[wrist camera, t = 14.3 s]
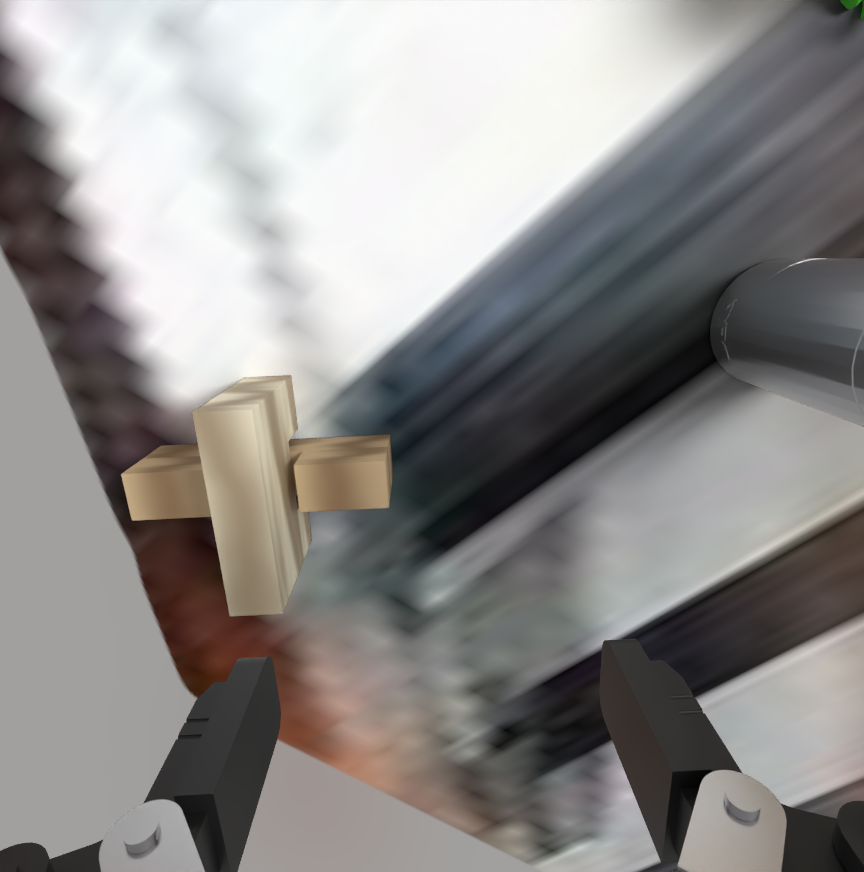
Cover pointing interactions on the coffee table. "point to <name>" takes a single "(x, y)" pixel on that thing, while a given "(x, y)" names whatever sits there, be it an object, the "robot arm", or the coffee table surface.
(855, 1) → the kitten
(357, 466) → the oak slotted rail
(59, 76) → the coffee table surface
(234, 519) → the birch slotted plate
